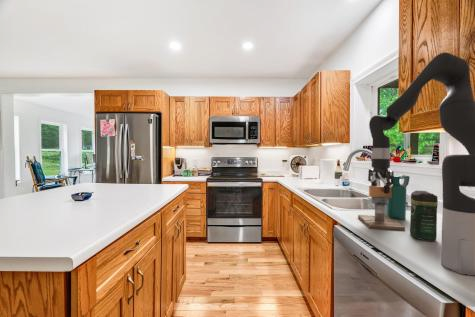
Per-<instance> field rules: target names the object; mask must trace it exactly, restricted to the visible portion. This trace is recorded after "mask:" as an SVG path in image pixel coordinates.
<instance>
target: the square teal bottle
mask: <svg viewBox="0 0 475 317" xmlns="http://www.w3.org/2000/svg"><path fill="white" fill-rule="evenodd" d="M400 180H403V183H402V184H401V183H400ZM409 183H410V176H409V175H405V174H403V175H394V184H392V185H390V187H392V198H389V204H388V205H385V216H387V217H390V218H391V219H393V220H405V219H406V218H407V217H406V216H407V215H406V213H407V187H408V186H409Z"/></svg>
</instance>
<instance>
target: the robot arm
mask: <svg viewBox="0 0 475 317" xmlns="http://www.w3.org/2000/svg"><path fill="white" fill-rule="evenodd" d="M469 65H470V64H469V63H468V61H467V60H465V58H461V57H459V56H457V55H454V54H452V53H450V52H440V53H439V54H436V56H434V57H433V58H432V59H431V60H430V61H429V62H428V63H427V64H426V65H425V66H424V67H423V69H422V70H421V71H420V73H419V74H417V76H416V77H415V78H414V80H413V81H412V82H411V83H410V84H409V85H408V86H407V88H406V89H405V90H404V92H402V93H401V95H399V96H398V97H397V98H396V99H395V100H394V101H393V102H392V103H391V104H389V105H388V106H387V108H386V114H385V115H384V114H383V115H381V114H380V115H379V114H376V115H373V116H372V117H371V118H370V120H369V123H368V127H369V131H370V136H371V138H372V150H371V168H372V169H368V177H367V181H368V182H370V183H371V185H370V186H378V184H377V182H378V180H381V182H382V183H383V186H384V193H385V194H389V192H390V185H392V184H394V176H395V175H394V174H395V173H394V171H393V170H388V169H389V168H391V149H390V148H391V147H390V146H391V144H390V143H391V139H390V136H388V135H386V134H385V132H386V131H389V130H391V129H393V128H394V127H395V126H396V125H397V124H398V122H399V121H400V120H401V118H402V117H403V116H405V115H406V114H407V113H408V112H410V111H411V110H412V109H413V108H414V107H415V106H416V103H418V100H419V97H420V94H421V91H422V90H423V88H424V86H425V85H426V84H428V83H429V82H430V81H433V80H434V81H436V82H438V83H441V84H443V85H444V87H445V89H446V94H447V95H446V96H445V97H444V98H443V100H442V101H441V103H440V104H439V106H438V115H439V121H440V126H441V127H442V128H443V130H444V131H445V132H446V133H447V134H449V135H450V136H451V137H452V138H453V139H455V140H456V141H457V142H459V143H460V144H461V145H462V146H463V147H464V148H465V149H466V152H467V153H468V154H448V155H446V156H445V157H444V158H443V160H442V163H441V164H442V165H441V175H442V176H441V177H442V178H441V180H442V181H441V182H442V215H441V216H442V218H441V219H442V220H441V246H440V247H441V250H440V252H441V254H440V256H441V257H440V258H441V259H440V261H441V262H440V265H442V266H443V267H444V266H445V267H444V268H446V267H447V268H446V269H448V268H449V269H448V270H450V269H451V270H450V271H453V272H456V273H458V274H459V273H460V274H459V275H465V274H467V275H470V276H475V198H474V197H471V196H469V195H466V194H465V193H463V192H462V191H461V189H460V188H461V187H467V188H468V187H469V188H475V98H474V93H473V90H472V84H471V71H470V66H469ZM384 131H385V132H384ZM467 275H466V276H467Z"/></svg>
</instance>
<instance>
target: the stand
mask: <svg viewBox="0 0 475 317" xmlns="http://www.w3.org/2000/svg"><path fill="white" fill-rule="evenodd" d="M357 218H358V220H360V221H361V222H362V223H363V224H364V225H365V226H366V227H367V228H368V229H374V230H385V231H386V230H390V231H406V230H405V229H406V227H405V226H404V225H402V224H401V223H399V222H397V221H396V220H395V219H391V218H390V217H387V216H385V205H380V204H374V215H365V214H358V215H357Z"/></svg>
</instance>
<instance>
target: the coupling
mask: <svg viewBox="0 0 475 317" xmlns="http://www.w3.org/2000/svg"><path fill="white" fill-rule="evenodd" d="M368 197H369V198H367V201H368V202H371V203H372V204H374V205H375V204H380V205H388V204H389V198H392V187H390V192H389V194H385V193H384V185H377V186H371V185H368Z"/></svg>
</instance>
